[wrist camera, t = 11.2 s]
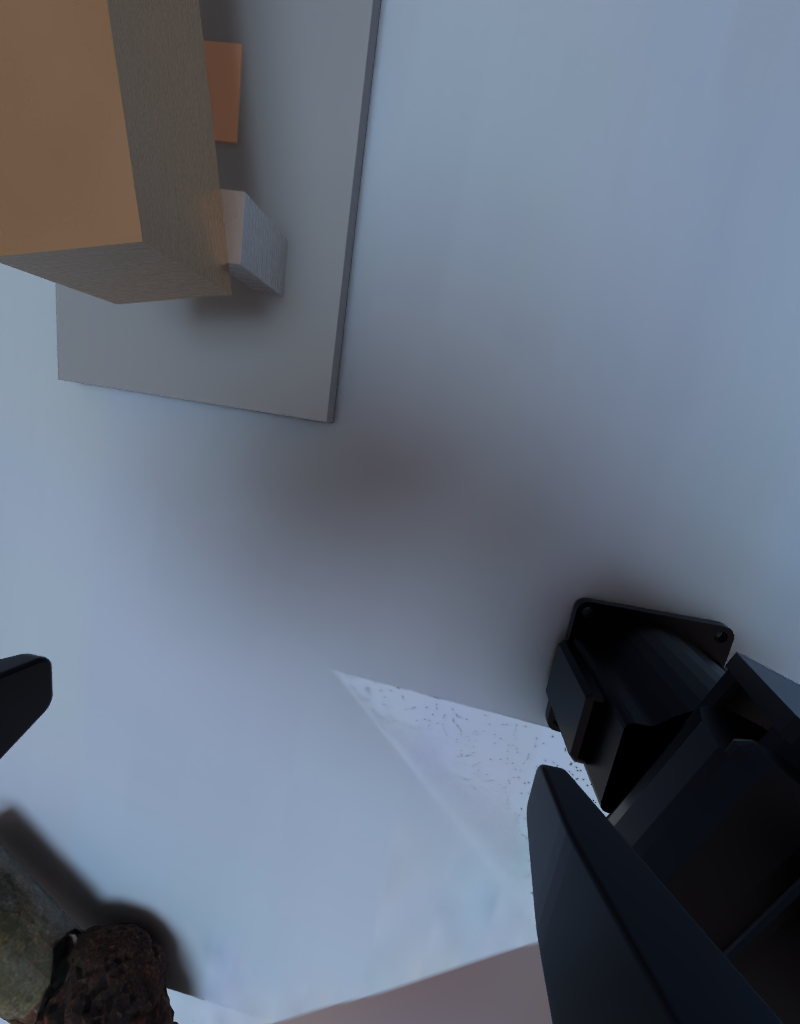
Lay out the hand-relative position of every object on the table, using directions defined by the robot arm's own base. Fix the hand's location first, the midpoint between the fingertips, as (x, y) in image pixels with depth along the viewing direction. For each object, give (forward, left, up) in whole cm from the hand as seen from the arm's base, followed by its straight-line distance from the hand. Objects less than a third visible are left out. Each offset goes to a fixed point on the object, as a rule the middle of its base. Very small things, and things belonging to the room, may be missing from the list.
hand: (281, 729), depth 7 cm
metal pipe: (+19, +24, -15) cm, 33 cm away
